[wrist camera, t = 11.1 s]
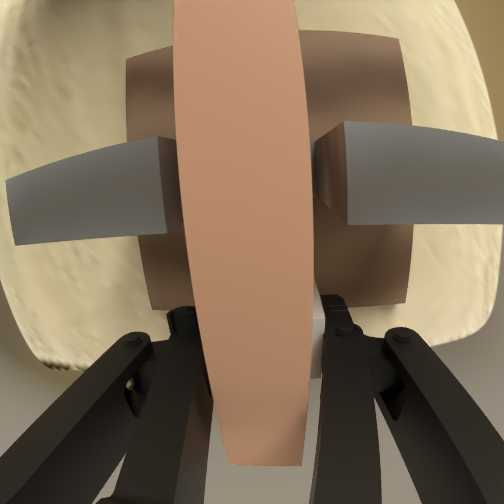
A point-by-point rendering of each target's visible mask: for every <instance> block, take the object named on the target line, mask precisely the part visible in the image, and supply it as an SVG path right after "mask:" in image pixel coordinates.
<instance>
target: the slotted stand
mask: <svg viewBox="0 0 504 504" xmlns="http://www.w3.org/2000/svg"><path fill="white" fill-rule="evenodd" d="M298 32H299V40H300V47H301V55H302V63H303V72H304V81H305V91H306V101H307V112H308V125H309V138H310V154H311V172H312V196H313V236H314V276H315V280H316V284H317V287H318V291H319V295H330V294H338V295H339V296H340V297H342V298H343V299H344V301H345V304H346V306H347V308H348V307H363V306H376V305H388V304H399V303H405V301H406V294H407V287H408V280H409V271H410V262H411V252H412V240H413V225H414V224H504V142H502V141H498V140H494V139H490V138H485V137H481V136H476V135H471V134H466V133H460V132H454V131H448V130H442V129H435V128H428V127H420V126H412V120H411V110H410V102H409V94H408V87H407V81H406V74H405V69H404V63H403V58H402V53H401V48H400V44H399V39H396V38H391V37H384V36H377V35H370V34H361V33H350V32H336V31H298ZM126 122H127V143H122V144H118V145H114V146H110V147H106V148H102V149H98V150H94V151H91V152H87V153H83V154H80V155H76V156H73V157H70V158H67V159H63V160H60V161H57V162H54V163H51V164H48V165H45V166H42V167H39V168H37V169H34V170H31V171H28V172H26V173H23V174H20V175H18V176H15V177H13V178H10V179H8V180H6V190H7V199H8V206H9V213H10V220H11V226H12V231H13V237H14V242H15V246H17V245H27V244H37V243H48V242H58V241H70V240H81V239H94V238H106V237H119V236H133V235H138V241H139V247H140V252H141V258H142V264H143V269H144V274H145V279H146V284H147V289H148V294H149V298H150V303H151V307H152V310H172V309H174V308H177V307H181V306H195V300H194V294H193V287H192V281H191V274H190V267H189V260H188V252H187V245H186V237H185V228H184V220H183V211H182V201H181V191H180V180H179V169H178V156H177V142H176V126H175V106H174V74H173V46H170V47H166V48H162V49H159V50H155V51H151V52H148V53H144V54H141V55H138V56H134V57H131V58H128V59H126ZM195 307H196V306H195Z"/></svg>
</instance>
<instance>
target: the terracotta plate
mask: <svg viewBox="0 0 504 504" xmlns="http://www.w3.org/2000/svg"><path fill="white" fill-rule="evenodd" d="M173 74H174V106H175V126H176V142H177V156H178V169H179V180H180V191H181V201H182V211H183V220H184V228H185V237H186V245H187V252H188V260H189V267H190V274H191V281H192V287H193V294H194V300H195V306H196V312H197V318H198V324H199V330H200V335H201V341H202V346H203V351H204V357H205V362H206V367H207V372H208V377H209V381H210V386H211V391H212V395H213V400H214V404H215V408H216V412H217V417H218V421H219V425H220V430H221V433H222V438H223V441H224V445H225V449H226V453H227V456H228V460H229V464H235V465H253V466H301V465H302V458H303V448H304V440H305V430H306V419H307V409H308V396H309V383H310V368H311V350H312V326H313V286H314V236H313V196H312V172H311V154H310V138H309V125H308V112H307V101H306V91H305V81H304V72H303V63H302V55H301V47H300V40H299V32H298V25H297V19H296V12H295V6H294V0H174V21H173Z"/></svg>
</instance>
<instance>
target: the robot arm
mask: <svg viewBox="0 0 504 504" xmlns="http://www.w3.org/2000/svg"><path fill="white" fill-rule="evenodd" d="M166 315H167V320H168V324H169V329H170V333H171V335H170V337H169V340H164V341H156V342H151V339H150V336H149V335H148V334H147V333H144V332H131V333H129V334H126V335H124V336H122V337H121V338H120V339H119V340H118V341H116V342H115V343H114V344H113V345H112V346H111V347H110V348H109V349H108V350H107V351H106V352H105V353H104V354H103V355H102V356H101V357H100V358H99V359H98V360H96V361H95V362H94V363H93V364H92V365H91V366H90V367H89V368H88V369H87V370H86V371H85V372H84V373H83V374H82V375H81V376H80V377H79V378H78V379H77V380H76V381H75V382H74V383H73V384H72V385H71V386H70V387H69V388H68V389H67V390H66V391H65V392H64V393H63V394H62V395H61V396H60V397H59V398H58V399H57V400H56V401H55V402H54V403H53V404H52V405H51V406H50V407H49V408H48V409H47V410H46V411H45V412H44V413H43V414H42V415H41V416H40V417H39V418H38V419H37V420H36V421H35V422H34V423H33V424H32V425H31V426H30V427H29V428H28V429H27V430H26V431H25V432H24V433H23V434H22V435H21V436H20V437H19V438H18V439H17V440H16V441H15V442H14V443H13V445H11V447H10V448H9V449H8V450H7V451H6V452H5V453H4V454H3V455H2V456H1V457H0V504H92V503H93V501H94V500H95V498H96V497H97V495H98V494H99V492H100V490H101V489H102V488H103V486H104V485H105V483H106V482H107V480H108V479H109V477H110V476H111V474H112V473H113V472H114V470H115V469H116V467H117V466H118V464H119V462H120V461H121V460H122V458H123V457H124V455H125V454H126V456H125V459H124V462H123V465H122V468H121V471H120V474H119V477H118V480H117V483H116V486H115V490H114V492H113V494H112V495H111V496H110V497H107V498H101V499H100V500H99V501H98V502H97V503H96V504H204V492H205V481H206V471H207V459H208V450H209V440H210V431H211V421H212V411H213V403H214V400H213V395H212V391H211V386H210V381H209V377H208V372H207V367H206V362H205V357H204V351H203V346H202V341H201V335H200V330H199V324H198V318H197V312H196V307H195V306H181V307H177V308H174V309H172V310H171V311H169V312H168V313H167V314H166ZM321 372H322V385H321V394H320V399H321V400H320V413H319V425H318V436H317V445H316V455H315V463H314V471H313V479H312V486H311V493H310V499H309V504H382V500H381V499H382V496H381V469H380V453H379V442H378V430H377V421H376V412H375V404H374V398H375V399H376V402H377V404H378V406H379V408H380V410H381V412H382V414H383V416H384V418H385V420H386V423H387V425H388V427H389V429H390V431H391V433H392V436H393V438H394V440H395V442H396V444H397V446H398V449H399V451H400V453H401V456H402V458H403V460H404V462H405V465H406V467H407V469H408V472H409V474H410V476H411V479H412V481H413V483H414V486H415V488H416V490H417V493H418V495H419V497H420V500H421V503H422V504H504V441H503V439H502V438H501V436H500V435H499V433H498V432H497V431H496V429H495V428H494V427H493V425H492V424H491V422H490V421H489V420H488V418H487V417H486V416H485V414H484V413H483V412H482V410H481V409H480V408H479V407H478V405H477V404H476V403H475V401H474V400H473V399H472V397H471V396H470V395H469V394H468V392H467V391H466V390H465V389H464V387H463V386H462V385H461V384H460V382H459V381H458V380H457V379H456V377H455V376H454V375H453V374H452V373H451V372H450V370H449V369H448V368H447V367H446V365H445V364H444V363H443V362H442V361H441V360H440V358H439V357H438V356H437V355H436V354H435V352H434V351H433V350H432V349H431V348H430V347H429V346H428V344H427V343H426V342H425V341H424V340H423V339H422V338H421V336H420V335H419V334H418V333H416V332H415V331H414V330H411V329H409V328H406V327H405V328H404V327H396V328H392V329H389V330H388V331H387V332H386V333H385V336H384V338H376V337H369V336H366V335H364V334H363V331H362V329H361V327H359V326H358V325H356V324H354V323H353V321H352V318H351V316H350V313H349V311H348V308H347V306H346V304H345V301H344V299H343V298H342V297H340V296H339V295H338V294H330V295H319V291H318V287H317V284H316V280H315V276H314V286H313V326H312V350H311V368H310V379H312V378H321ZM129 380H130V382H131V386H130V387H129V388H127V387H126V384H127V382H128V381H129ZM373 395H374V396H373ZM126 452H127V453H126Z"/></svg>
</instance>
